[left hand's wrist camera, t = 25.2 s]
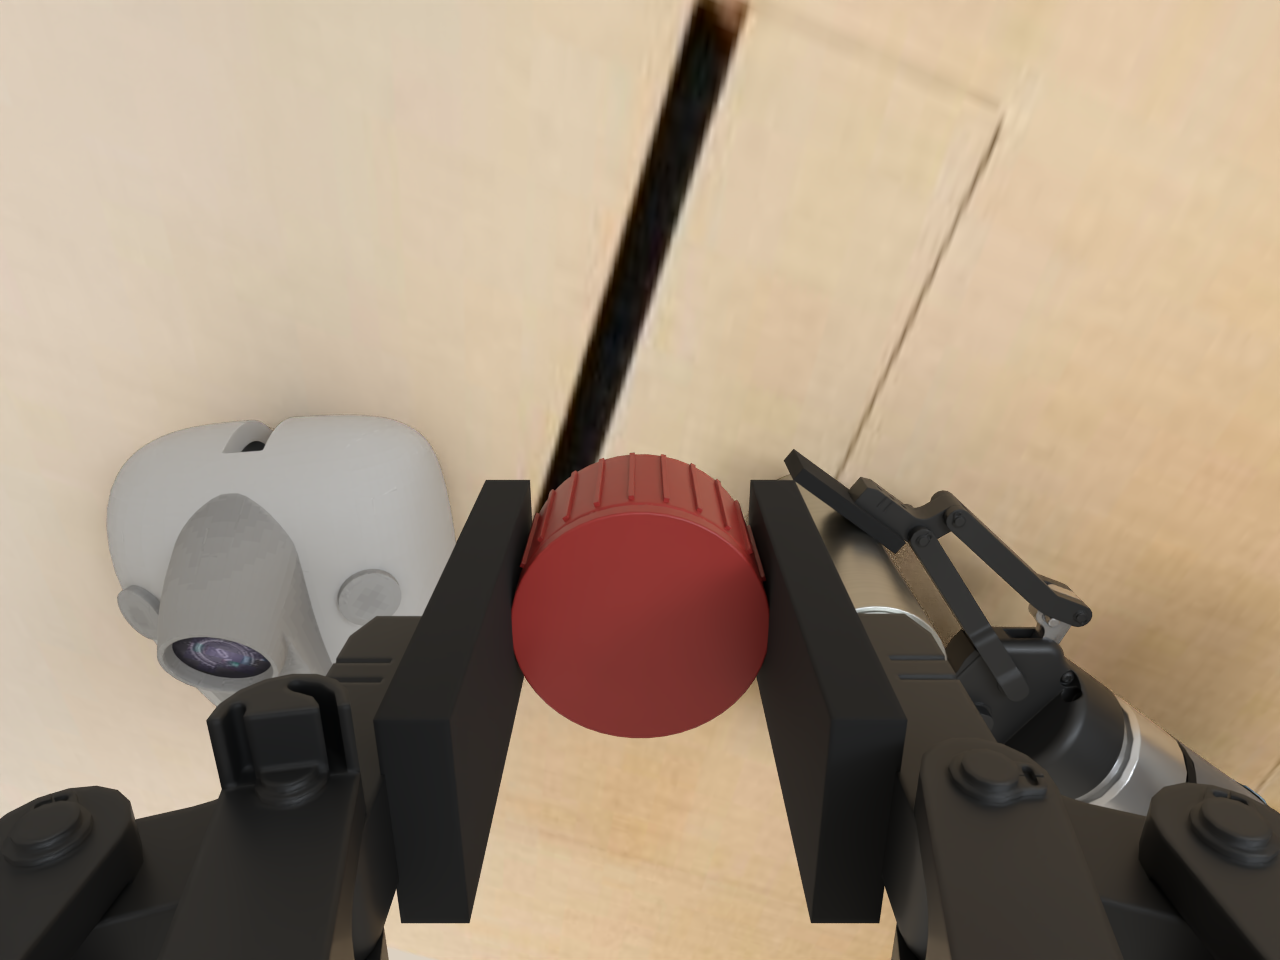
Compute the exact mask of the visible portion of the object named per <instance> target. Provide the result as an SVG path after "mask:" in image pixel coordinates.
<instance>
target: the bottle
mask: <svg viewBox="0 0 1280 960" xmlns="http://www.w3.org/2000/svg"><path fill="white" fill-rule="evenodd" d="M778 480H793V479H792V477H791V475H788V476H785V477H782V478H780V479H778ZM839 483H840V482H839ZM796 484H797V486H798V488H799V490H800V493H801V495H802V497H803V499H804V501H805V503H806V505H807V507H808V510H809V512H810V514H811V516H812V518H813V520H814V522H815V524H816V527H817V529H818V531H819V533H820V535H821V537H822V539H823V541H824V543H825V546H826V548H827V550H828V552H829V554H830V556H831V558H832V560H833V563H834V565H835V567H836V569H837V571H838V573H839V575H840V577H841V580H842V582H843V584H844V586H845V588H846V590H847V592H848V594H849V597H850V599H851V601H852V603H853V605H854V607H855V609H856V611H857V613H905V614H906V615H907V616H909V617H910V618H911V619H913V620H914V621H915V622H917V623H918V624H919V625H921V626H922V627H923V628H925V629H926V630H928V631H929V632H930V633H931V634H932V635H933V637H934V639H935V640H936V642H937V644H938V645H939V647H940V649H941V650H942V652H943V654H944V655H945V660H947V655H946V651H945V647H944V645H943V643H942V641H941V639H940V637H939V635H938V634H937V632H936V631H935V629H934V627H933V626H932V624H931V623H930V621H929V619H928V618H927V616H926V614H925V613H924V611H923V610H922V608H921V606H920V605H919V603H918V601H917V600H916V598H915V597H914V595H913V593H912V592H911V590H910V588H909V587H908V585H907V584H906V582H905V580H904V579H903V577H902V576H901V574H900V572H899V571H898V569H897V567H896V566H895V564H894V563H893V561H892V559H891V558H890V556H889V554H888V553H887V551H886V550H885V548H884V546H883V545H882V544H881V543H879V542H878V541H877V540H875V539H874V538H873V537H871V536H870V535H868V534H867V533H866V532H864V531H863V530H861V529H860V528H859V527H857V526H856V525H855V524H853V523H852V522H850V521H849V520H848V519H846V518H845V517H843V516H842V515H841V514H839V513H838V512H837V511H835V510H834V509H832V508H831V507H830V506H828V505H827V504H826V503H824V502H823V501H821V500H820V499H819V498H817V497H816V496H814V495H813V494H812V493H810V492H809V491H808V490H806V489H805V488H803V487H802V486H801V485H799V484H798V483H796ZM748 522H749V515H748V519H747V526H748Z"/></svg>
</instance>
